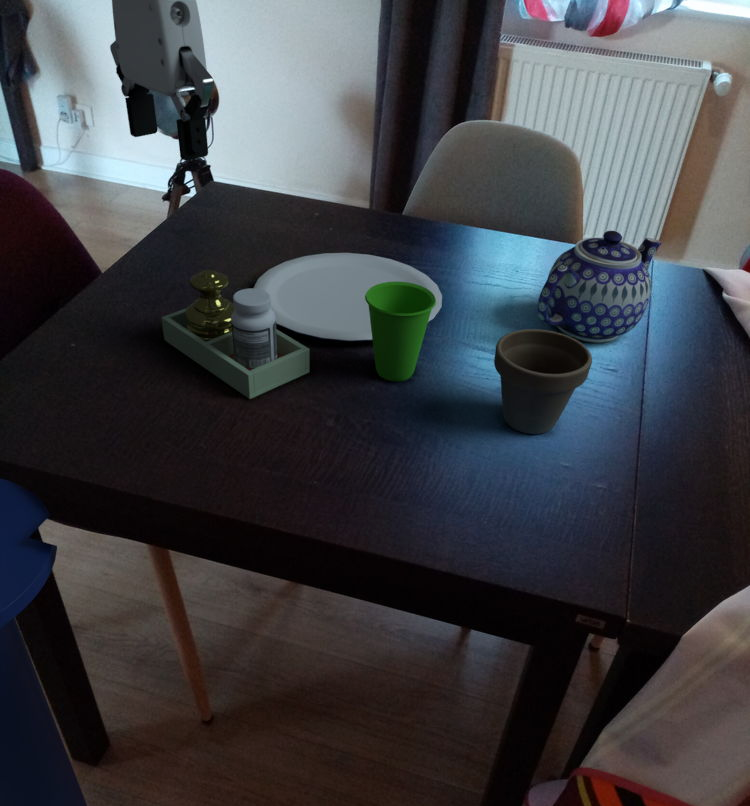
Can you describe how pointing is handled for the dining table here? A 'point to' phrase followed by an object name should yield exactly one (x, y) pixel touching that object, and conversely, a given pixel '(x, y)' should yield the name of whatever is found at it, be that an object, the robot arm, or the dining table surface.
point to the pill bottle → (253, 328)
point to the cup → (398, 326)
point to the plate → (334, 293)
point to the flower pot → (539, 376)
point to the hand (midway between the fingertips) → (168, 145)
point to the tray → (221, 361)
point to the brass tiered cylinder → (209, 306)
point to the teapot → (598, 288)
